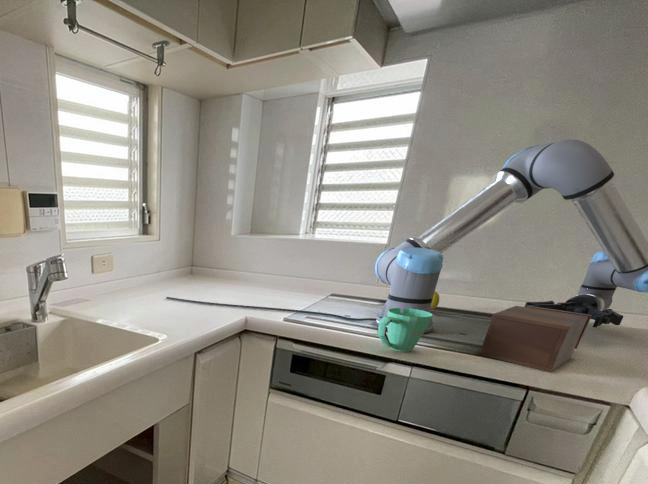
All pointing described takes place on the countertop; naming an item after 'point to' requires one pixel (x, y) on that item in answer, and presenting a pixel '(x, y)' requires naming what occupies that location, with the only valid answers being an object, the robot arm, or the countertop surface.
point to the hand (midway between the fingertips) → (561, 316)
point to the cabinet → (532, 337)
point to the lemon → (435, 300)
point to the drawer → (569, 313)
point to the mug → (403, 328)
